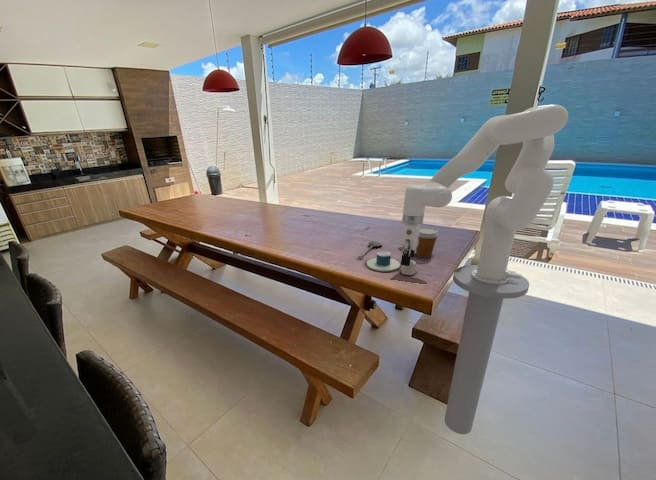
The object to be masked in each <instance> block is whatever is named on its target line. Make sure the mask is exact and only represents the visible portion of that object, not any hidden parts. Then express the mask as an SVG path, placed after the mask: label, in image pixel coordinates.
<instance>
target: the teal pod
mask: <svg viewBox="0 0 656 480" xmlns="http://www.w3.org/2000/svg"><path fill="white" fill-rule="evenodd" d="M376 258H377V260H376V263H377V264H378V265H381V266H387V265H390V260H391V258H392V253H391V252H389V251H381V250H380V251H377V252H376Z"/></svg>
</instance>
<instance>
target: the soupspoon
mask: <svg viewBox="0 0 656 480" xmlns="http://www.w3.org/2000/svg"><path fill="white" fill-rule="evenodd" d="M368 245H369V247H367V249H366V250H365V251H364V252H363V253H361V255H358V256H357V258H358V259H359V260H362V259H363V256H365V254H366V253H368V251H370V250H371V249H372V248H374V247H379V246H383V243H382V242H380V241H376V240H372V241H369V242H368Z"/></svg>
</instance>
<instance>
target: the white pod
mask: <svg viewBox="0 0 656 480" xmlns="http://www.w3.org/2000/svg"><path fill="white" fill-rule="evenodd" d="M416 262H417V261H414V260H412V259H410V265H409V266H405V265H401V267H400V268H401V269H400V272H401V274H402V275H405V276H406V275H407V276H413V275H415V273H416V266H417V263H416Z"/></svg>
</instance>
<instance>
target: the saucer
mask: <svg viewBox="0 0 656 480" xmlns="http://www.w3.org/2000/svg"><path fill="white" fill-rule="evenodd" d="M376 260H377V257H371V258H369V259H368V260H367V261H366V267H367V268H369V269H371V270H373V271H377V272H394V271H397V270H398V269H400V268H401V262H400V261H398V260H396V259H395V258H392V257H391V260H390V265H387V266H381V265H378V264H377V263H376Z"/></svg>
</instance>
